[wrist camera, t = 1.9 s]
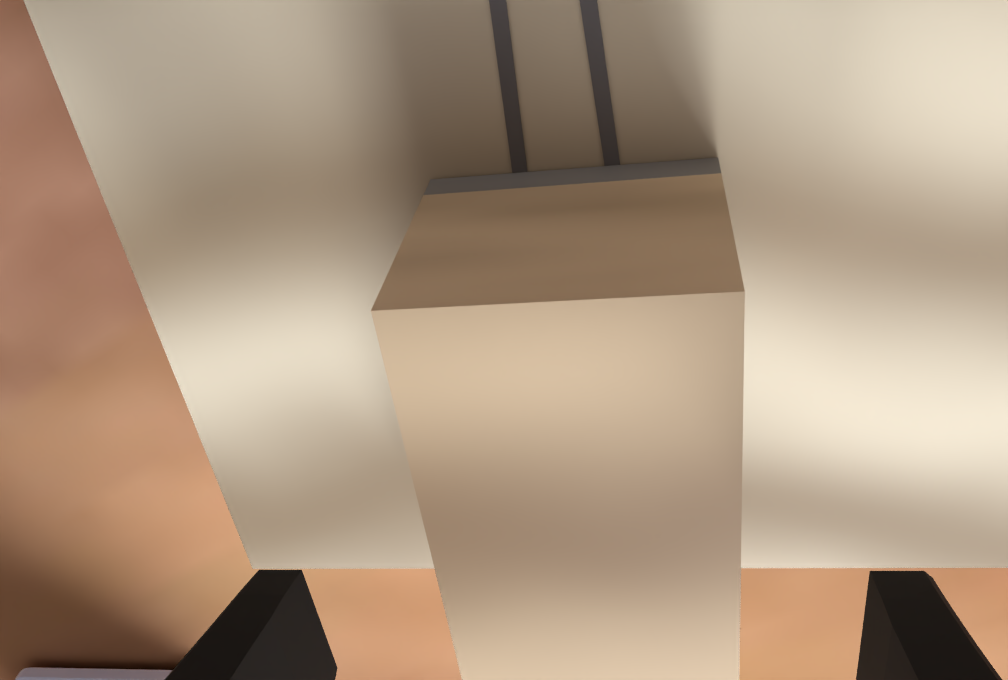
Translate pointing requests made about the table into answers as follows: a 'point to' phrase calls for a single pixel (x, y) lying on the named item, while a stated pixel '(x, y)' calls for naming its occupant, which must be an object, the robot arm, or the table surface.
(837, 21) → the beige square mat
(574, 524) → the block
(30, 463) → the table surface
